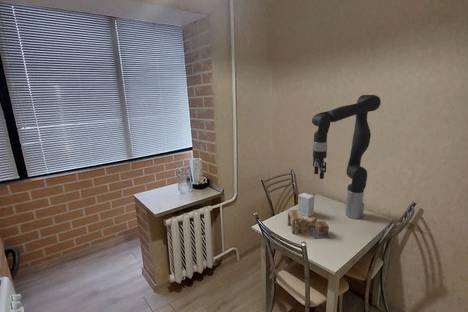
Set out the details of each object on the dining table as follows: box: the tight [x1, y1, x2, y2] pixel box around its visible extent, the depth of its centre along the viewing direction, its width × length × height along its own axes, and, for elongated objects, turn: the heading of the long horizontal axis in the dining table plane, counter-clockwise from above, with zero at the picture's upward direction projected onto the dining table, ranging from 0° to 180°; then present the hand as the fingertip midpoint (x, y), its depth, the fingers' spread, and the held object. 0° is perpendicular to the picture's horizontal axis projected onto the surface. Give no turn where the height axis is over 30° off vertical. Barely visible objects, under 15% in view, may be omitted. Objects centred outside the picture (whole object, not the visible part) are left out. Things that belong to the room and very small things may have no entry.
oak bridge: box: [287, 209, 305, 235], centre depth 147 cm, size 6×11×9 cm, turn 2°
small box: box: [297, 192, 315, 218], centre depth 163 cm, size 8×6×13 cm
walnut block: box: [314, 220, 330, 235], centre depth 140 cm, size 6×6×6 cm
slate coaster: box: [308, 228, 331, 239], centre depth 141 cm, size 9×9×1 cm
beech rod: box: [295, 215, 318, 234], centre depth 148 cm, size 16×4×4 cm, turn 120°
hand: (318, 176), depth 146 cm, fingers open, 8 cm apart
